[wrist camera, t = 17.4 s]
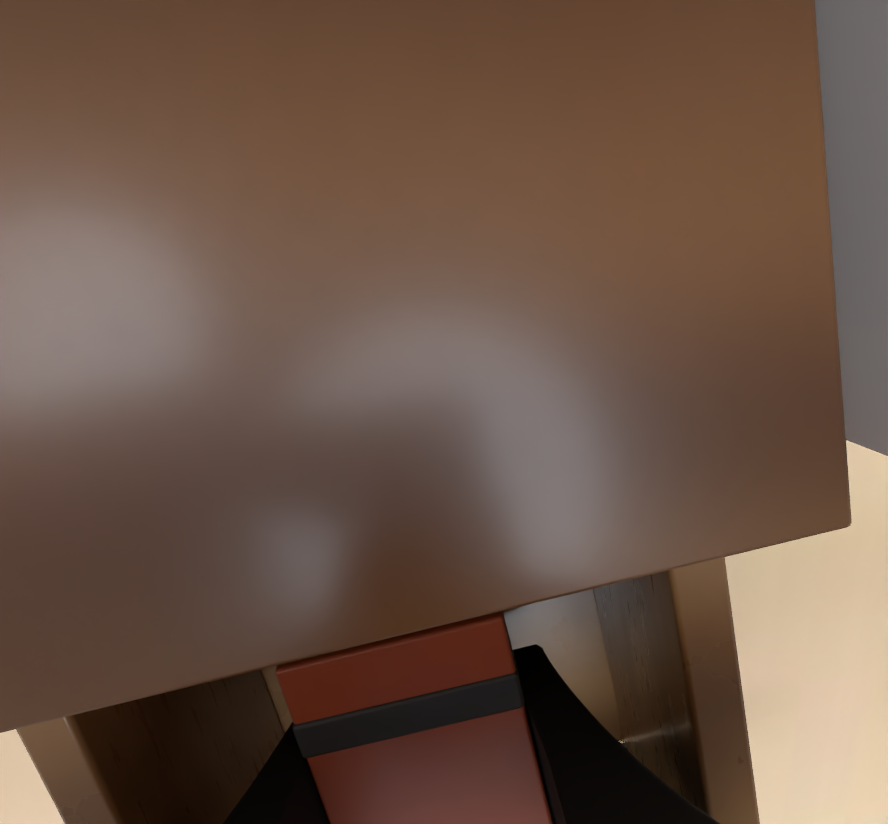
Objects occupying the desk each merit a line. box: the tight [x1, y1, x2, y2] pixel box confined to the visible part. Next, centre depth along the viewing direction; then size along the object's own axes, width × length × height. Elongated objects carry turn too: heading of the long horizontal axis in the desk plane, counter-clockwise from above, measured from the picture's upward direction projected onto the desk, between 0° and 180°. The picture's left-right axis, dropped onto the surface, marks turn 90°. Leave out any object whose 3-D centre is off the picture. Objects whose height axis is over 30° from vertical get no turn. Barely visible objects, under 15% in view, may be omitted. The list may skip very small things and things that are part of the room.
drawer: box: [16, 557, 760, 824], centre depth 12 cm, size 19×11×7 cm, turn 14°
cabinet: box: [0, 0, 851, 733], centre depth 9 cm, size 15×12×8 cm
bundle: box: [275, 611, 554, 824], centre depth 12 cm, size 7×4×4 cm, turn 13°
